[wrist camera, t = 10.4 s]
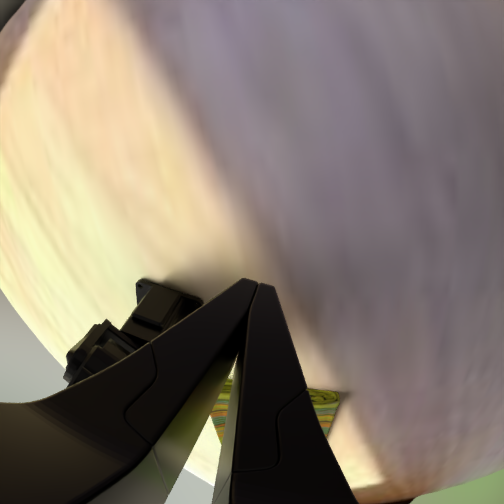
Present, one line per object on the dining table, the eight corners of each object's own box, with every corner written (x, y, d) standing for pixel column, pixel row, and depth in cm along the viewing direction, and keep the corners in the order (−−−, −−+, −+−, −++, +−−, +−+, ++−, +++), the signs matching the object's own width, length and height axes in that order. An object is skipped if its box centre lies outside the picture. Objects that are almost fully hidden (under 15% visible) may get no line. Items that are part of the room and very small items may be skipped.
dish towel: (341, 385, 29) (340, 410, 27) (310, 480, 47) (308, 493, 44) (202, 369, 33) (193, 391, 30) (235, 470, 50) (231, 483, 48)
